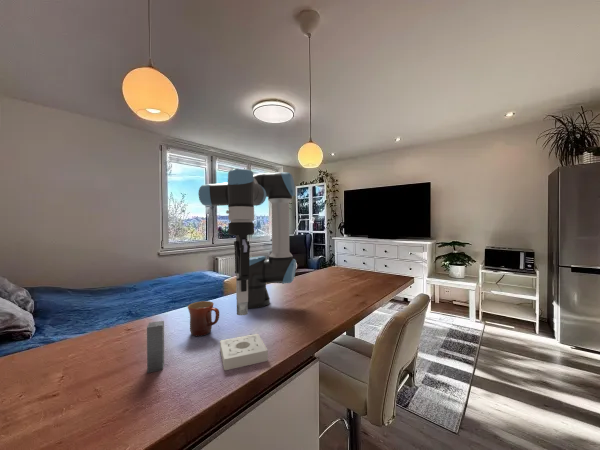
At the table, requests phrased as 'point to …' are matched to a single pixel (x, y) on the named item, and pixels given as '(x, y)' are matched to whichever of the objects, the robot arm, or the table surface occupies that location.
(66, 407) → the table surface
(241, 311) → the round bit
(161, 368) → the square bit
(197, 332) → the mug
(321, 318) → the table surface
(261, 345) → the bore block
